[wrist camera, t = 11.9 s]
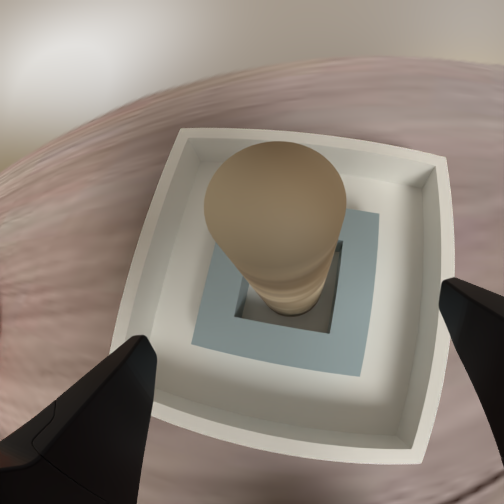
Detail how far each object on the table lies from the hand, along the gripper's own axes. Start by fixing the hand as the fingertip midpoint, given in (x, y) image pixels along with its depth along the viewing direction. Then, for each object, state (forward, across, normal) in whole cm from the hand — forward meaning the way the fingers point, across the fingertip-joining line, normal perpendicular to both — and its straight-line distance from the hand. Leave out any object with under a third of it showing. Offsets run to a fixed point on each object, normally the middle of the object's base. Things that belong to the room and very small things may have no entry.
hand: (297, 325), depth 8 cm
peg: (+10, 0, +5) cm, 11 cm away
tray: (+11, 0, +6) cm, 12 cm away
